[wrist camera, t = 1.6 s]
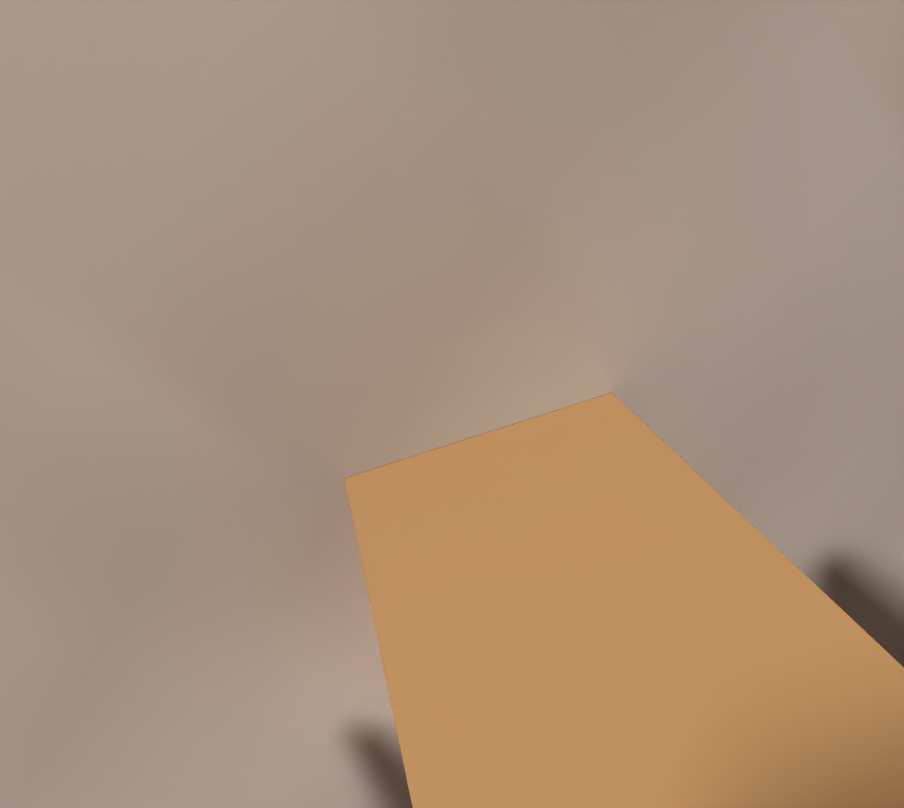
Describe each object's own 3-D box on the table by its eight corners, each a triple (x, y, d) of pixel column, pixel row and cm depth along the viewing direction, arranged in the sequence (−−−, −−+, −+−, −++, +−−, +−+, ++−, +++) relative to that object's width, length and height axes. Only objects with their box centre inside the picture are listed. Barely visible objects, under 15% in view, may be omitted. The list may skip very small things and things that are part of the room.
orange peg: (611, 392, 11) (1687, 1406, 3) (638, 596, 12) (1316, 1551, 4) (344, 478, 10) (661, 2012, 2) (414, 676, 12) (722, 1893, 4)
